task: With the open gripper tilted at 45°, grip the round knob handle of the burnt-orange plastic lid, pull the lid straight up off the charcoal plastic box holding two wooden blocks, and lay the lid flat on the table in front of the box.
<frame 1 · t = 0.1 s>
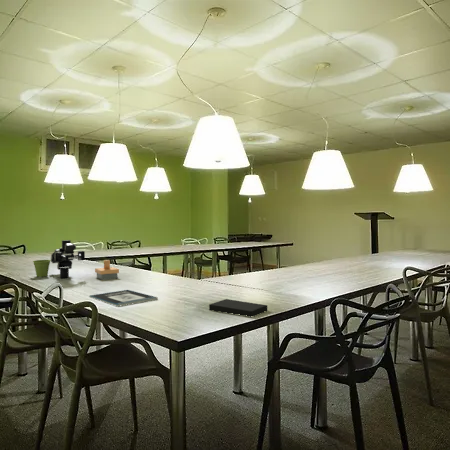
hand: (73, 257, 253), 17 cm above the table, fingers open, 9 cm apart
external hard drive: (238, 311, 181), on the table
beech block: (103, 277, 269), point 1 cm above the table, touching storage box
walnut block: (110, 277, 268), point 1 cm above the table, touching storage box
plant pot: (42, 276, 281), on the table
lid: (107, 272, 268), point 4 cm above the table, touching storage box
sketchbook: (123, 299, 207), on the table
storage box: (107, 278, 269), on the table
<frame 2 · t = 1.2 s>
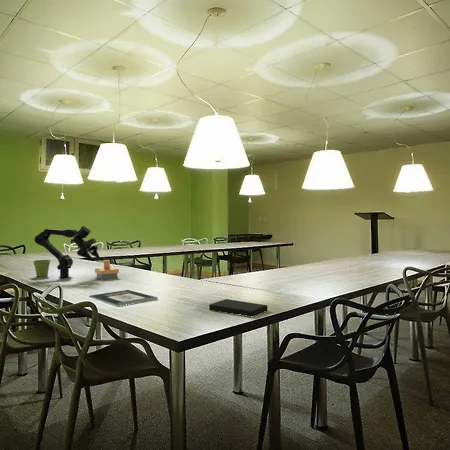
hand: (95, 258, 269), 14 cm above the table, fingers open, 9 cm apart
nothing on the table moved.
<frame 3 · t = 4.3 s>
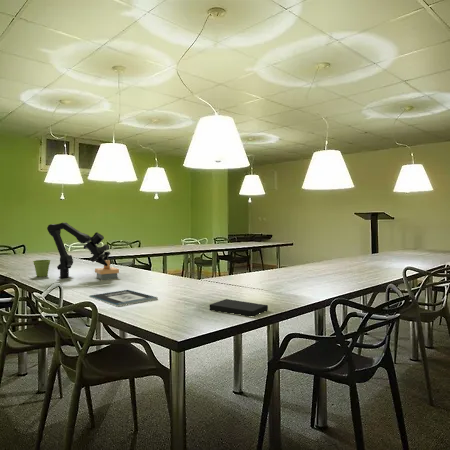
hand: (108, 265, 268), 10 cm above the table, fingers closed on lid, 4 cm apart
lid: (107, 272, 268), point 4 cm above the table, touching gripper, storage box
everything else where it was.
when the fingers open (7 cm above the table, at t = 9.3 s): lid drops 2 cm, on the table.
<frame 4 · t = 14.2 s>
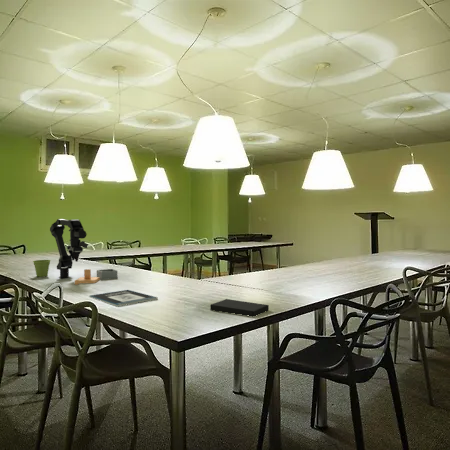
hand: (75, 260, 265), 13 cm above the table, fingers open, 9 cm apart
lid: (87, 282, 254), on the table
everything else where it was.
at the end: lid inside the target area (0.1 cm from its centre), on the table; lid tilted 0°; the gripper is holding nothing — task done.
